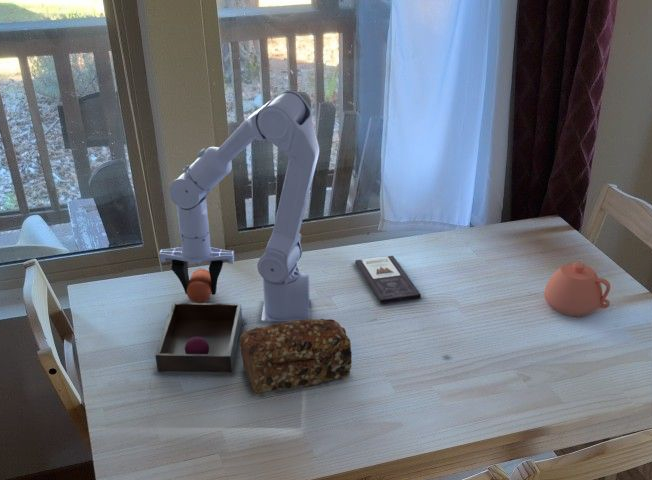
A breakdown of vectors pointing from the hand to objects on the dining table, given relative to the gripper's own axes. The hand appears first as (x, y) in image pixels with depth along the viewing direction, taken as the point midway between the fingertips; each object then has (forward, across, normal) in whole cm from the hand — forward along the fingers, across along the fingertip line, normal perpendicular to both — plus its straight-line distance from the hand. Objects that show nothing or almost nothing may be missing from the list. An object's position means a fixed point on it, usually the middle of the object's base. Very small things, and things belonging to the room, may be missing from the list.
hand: (200, 292), depth 171 cm
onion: (+1, +2, -22) cm, 22 cm away
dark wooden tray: (+2, +2, -17) cm, 17 cm away
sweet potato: (+1, 0, 0) cm, 1 cm away
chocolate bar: (+2, +39, +10) cm, 40 cm away
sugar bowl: (+2, +79, 0) cm, 79 cm away
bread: (+2, +21, -26) cm, 33 cm away
